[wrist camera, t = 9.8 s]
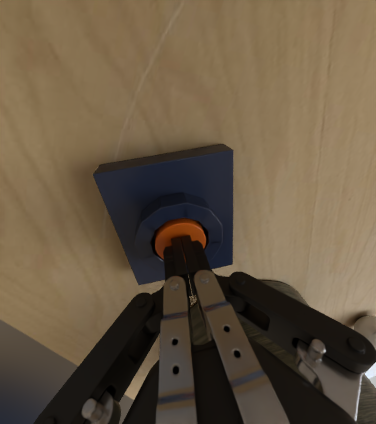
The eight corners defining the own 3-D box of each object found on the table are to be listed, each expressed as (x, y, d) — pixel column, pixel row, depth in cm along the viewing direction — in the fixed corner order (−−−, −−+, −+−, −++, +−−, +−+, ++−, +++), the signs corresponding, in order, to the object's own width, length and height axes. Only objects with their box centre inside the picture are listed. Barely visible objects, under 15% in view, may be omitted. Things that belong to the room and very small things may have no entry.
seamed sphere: (385, 305, 37) (432, 346, 31) (366, 325, 41) (404, 366, 35) (343, 312, 35) (383, 357, 29) (326, 332, 39) (359, 376, 33)
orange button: (149, 216, 15) (149, 229, 13) (199, 206, 15) (204, 218, 14) (160, 253, 17) (160, 267, 16) (202, 243, 17) (207, 257, 16)
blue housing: (99, 164, 15) (84, 184, 11) (223, 143, 15) (244, 156, 12) (139, 269, 21) (137, 301, 18) (225, 250, 22) (239, 278, 18)
